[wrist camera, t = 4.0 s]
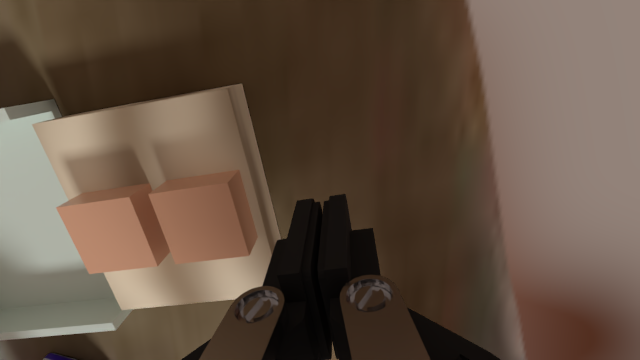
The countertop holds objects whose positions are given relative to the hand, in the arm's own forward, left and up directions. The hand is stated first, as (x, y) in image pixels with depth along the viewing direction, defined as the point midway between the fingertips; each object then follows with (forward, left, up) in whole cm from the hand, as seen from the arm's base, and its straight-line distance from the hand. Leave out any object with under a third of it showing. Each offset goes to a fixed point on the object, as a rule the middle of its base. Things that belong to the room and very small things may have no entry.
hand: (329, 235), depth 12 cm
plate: (+9, +1, -8) cm, 13 cm away
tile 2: (+12, +1, -6) cm, 13 cm away
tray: (+21, +1, -8) cm, 23 cm away
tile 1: (+7, +1, -6) cm, 9 cm away
